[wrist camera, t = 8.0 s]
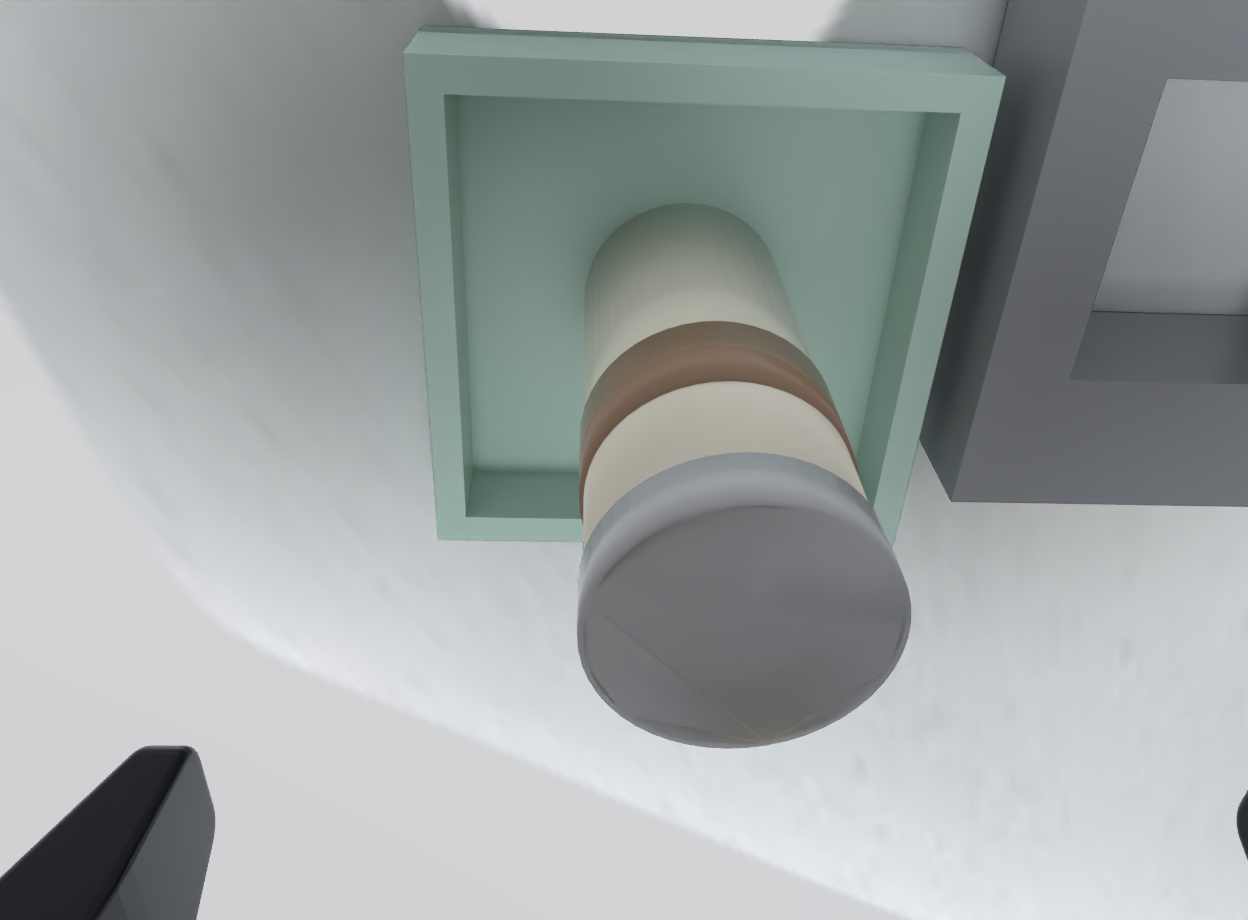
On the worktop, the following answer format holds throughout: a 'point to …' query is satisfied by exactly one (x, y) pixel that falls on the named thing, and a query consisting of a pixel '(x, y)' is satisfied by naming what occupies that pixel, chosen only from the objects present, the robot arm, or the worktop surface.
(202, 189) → the worktop surface
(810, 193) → the parts tray
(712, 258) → the fuse
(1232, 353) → the fuse holder
